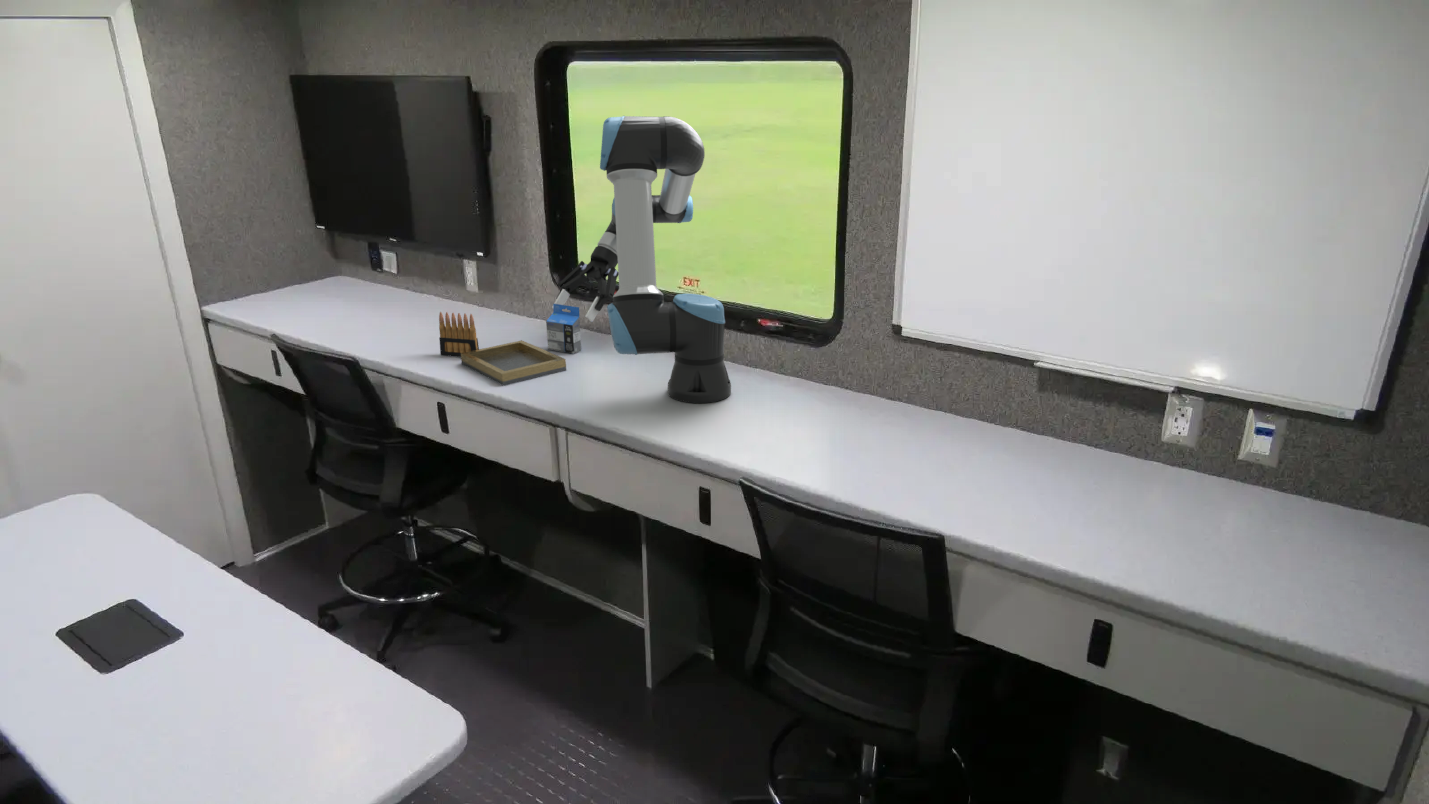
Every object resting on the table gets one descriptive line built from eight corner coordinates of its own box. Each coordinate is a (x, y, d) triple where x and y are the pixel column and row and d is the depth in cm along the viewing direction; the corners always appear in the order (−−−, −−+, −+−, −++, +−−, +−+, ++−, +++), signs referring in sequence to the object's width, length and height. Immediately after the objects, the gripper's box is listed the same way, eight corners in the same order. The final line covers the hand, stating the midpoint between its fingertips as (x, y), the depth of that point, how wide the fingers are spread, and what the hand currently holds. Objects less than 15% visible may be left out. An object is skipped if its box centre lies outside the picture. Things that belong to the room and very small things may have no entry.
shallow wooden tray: (566, 370, 219) (565, 359, 218) (503, 385, 208) (502, 374, 206) (522, 350, 234) (521, 340, 233) (461, 364, 223) (460, 353, 222)
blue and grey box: (547, 350, 235) (544, 306, 231) (555, 346, 238) (552, 303, 234) (574, 354, 231) (571, 310, 227) (582, 350, 235) (579, 307, 230)
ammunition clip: (480, 356, 229) (476, 313, 225) (476, 358, 228) (472, 314, 223) (443, 353, 232) (439, 310, 227) (440, 355, 230) (435, 312, 226)
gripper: (647, 266, 236) (610, 330, 231) (585, 254, 251) (549, 314, 245) (633, 250, 230) (595, 315, 225) (570, 239, 245) (533, 300, 239)
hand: (571, 315), depth 235 cm, fingers open, 13 cm apart
